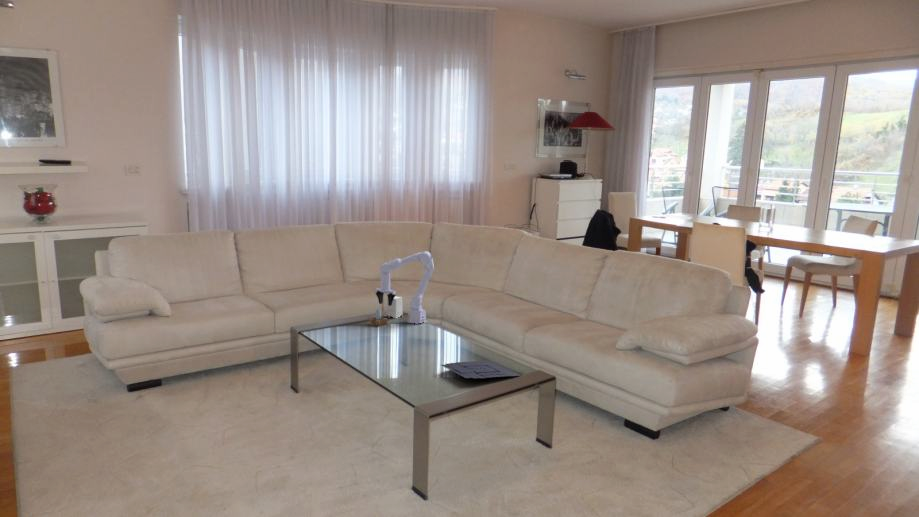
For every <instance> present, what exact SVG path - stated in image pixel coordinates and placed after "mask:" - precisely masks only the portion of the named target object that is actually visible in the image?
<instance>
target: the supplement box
mask: <svg viewBox="0 0 919 517" xmlns="http://www.w3.org/2000/svg"><path fill="white" fill-rule="evenodd" d="M387 314H390V315H391V316H392V317H393V318H392V319H399V318H401V317H400V316H401V315H402V316H403V296H396V295H395V297H394V299H393V302H392V305H391V306H389V304H388V297H386V315H387ZM398 317H399V318H398Z"/></svg>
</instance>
